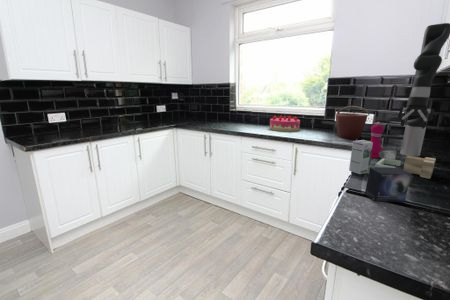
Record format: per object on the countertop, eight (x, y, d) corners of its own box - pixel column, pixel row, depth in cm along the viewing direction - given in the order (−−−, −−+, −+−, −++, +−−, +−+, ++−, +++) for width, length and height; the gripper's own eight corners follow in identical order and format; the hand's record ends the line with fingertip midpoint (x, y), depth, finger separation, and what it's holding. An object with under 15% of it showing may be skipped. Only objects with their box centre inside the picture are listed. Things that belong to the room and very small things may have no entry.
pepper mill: (362, 155, 136) (367, 121, 131) (370, 154, 139) (376, 120, 134) (374, 158, 130) (380, 122, 125) (382, 157, 132) (389, 122, 128)
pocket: (382, 162, 123) (383, 157, 122) (400, 165, 118) (401, 161, 117) (374, 169, 112) (375, 164, 112) (393, 173, 107) (394, 167, 107)
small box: (374, 202, 78) (380, 173, 76) (363, 194, 85) (368, 166, 82) (406, 202, 78) (412, 173, 76) (392, 194, 85) (398, 167, 82)
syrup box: (359, 174, 104) (365, 142, 101) (348, 170, 110) (352, 140, 106) (368, 173, 107) (373, 142, 103) (356, 169, 112) (361, 139, 108)
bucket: (372, 139, 183) (377, 107, 177) (350, 141, 176) (355, 107, 170) (346, 134, 206) (350, 105, 199) (326, 135, 198) (330, 105, 192)
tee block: (405, 168, 114) (408, 154, 113) (432, 173, 107) (435, 158, 106) (401, 173, 107) (404, 158, 106) (430, 178, 101) (433, 163, 99)
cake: (266, 127, 239) (266, 114, 236) (292, 127, 242) (293, 114, 239) (274, 132, 212) (275, 118, 209) (304, 131, 215) (305, 118, 212)
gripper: (437, 97, 119) (430, 129, 123) (403, 96, 129) (397, 125, 132) (437, 96, 114) (429, 129, 117) (401, 95, 123) (395, 126, 126)
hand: (412, 127), depth 125 cm, fingers open, 8 cm apart
